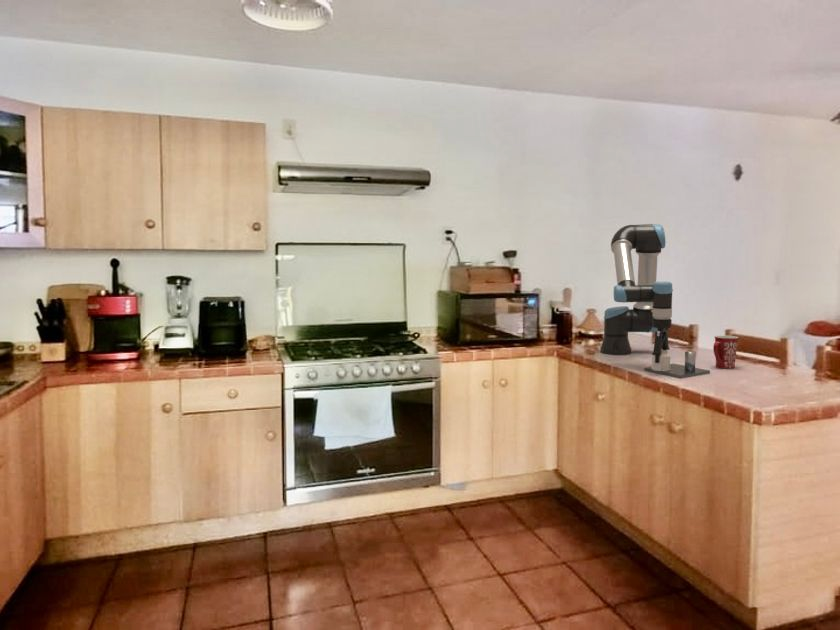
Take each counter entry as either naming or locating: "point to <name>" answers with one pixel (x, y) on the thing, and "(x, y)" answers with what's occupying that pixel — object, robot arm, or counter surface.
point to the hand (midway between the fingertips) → (660, 367)
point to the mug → (725, 351)
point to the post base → (682, 368)
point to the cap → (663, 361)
